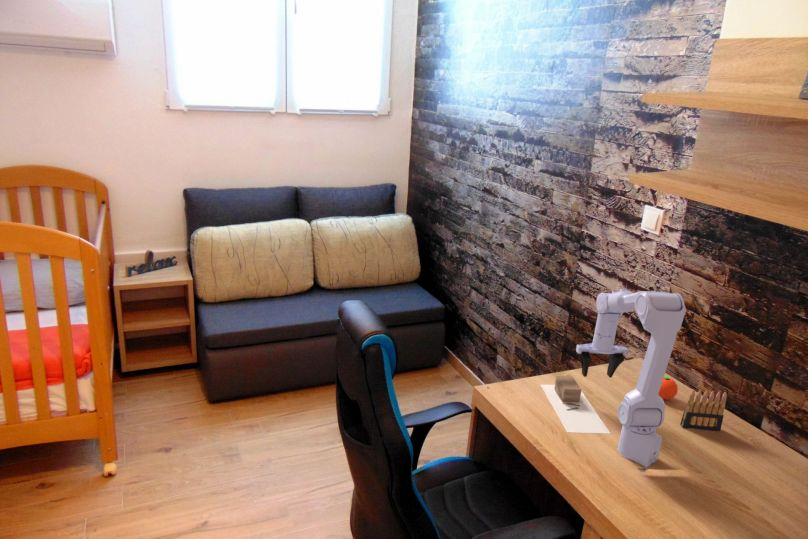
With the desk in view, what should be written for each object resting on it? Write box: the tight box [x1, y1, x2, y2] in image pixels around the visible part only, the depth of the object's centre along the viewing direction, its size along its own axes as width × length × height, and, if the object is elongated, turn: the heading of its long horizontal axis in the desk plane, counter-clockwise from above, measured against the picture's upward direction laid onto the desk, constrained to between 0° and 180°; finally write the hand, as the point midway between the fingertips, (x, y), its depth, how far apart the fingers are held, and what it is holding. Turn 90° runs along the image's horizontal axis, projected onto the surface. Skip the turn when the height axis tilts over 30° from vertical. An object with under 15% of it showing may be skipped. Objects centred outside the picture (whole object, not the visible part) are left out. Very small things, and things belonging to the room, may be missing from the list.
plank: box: [539, 384, 611, 435], centre depth 175 cm, size 26×12×1 cm, turn 4°
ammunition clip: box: [679, 388, 728, 432], centre depth 170 cm, size 11×2×12 cm, turn 88°
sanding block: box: [554, 375, 582, 404], centre depth 180 cm, size 8×5×5 cm, turn 4°
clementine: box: [658, 374, 679, 400], centre depth 187 cm, size 8×7×7 cm
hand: (596, 375), depth 177 cm, fingers open, 7 cm apart
